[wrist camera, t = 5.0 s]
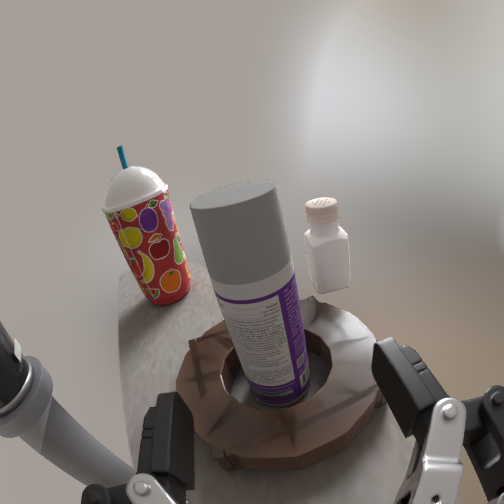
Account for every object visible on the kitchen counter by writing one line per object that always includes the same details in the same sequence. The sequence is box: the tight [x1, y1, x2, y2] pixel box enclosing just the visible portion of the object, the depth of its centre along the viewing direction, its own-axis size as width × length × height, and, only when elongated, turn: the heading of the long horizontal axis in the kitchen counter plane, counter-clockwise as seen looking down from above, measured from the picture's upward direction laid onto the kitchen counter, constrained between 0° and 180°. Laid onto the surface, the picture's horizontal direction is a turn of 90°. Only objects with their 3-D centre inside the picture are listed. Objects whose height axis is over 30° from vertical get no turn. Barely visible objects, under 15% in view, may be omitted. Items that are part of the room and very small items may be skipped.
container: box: [190, 180, 310, 407], centre depth 17 cm, size 5×5×15 cm
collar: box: [176, 296, 387, 472], centre depth 20 cm, size 15×15×2 cm
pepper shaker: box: [304, 197, 351, 294], centre depth 29 cm, size 4×4×10 cm
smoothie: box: [103, 146, 191, 305], centre depth 33 cm, size 8×8×20 cm
